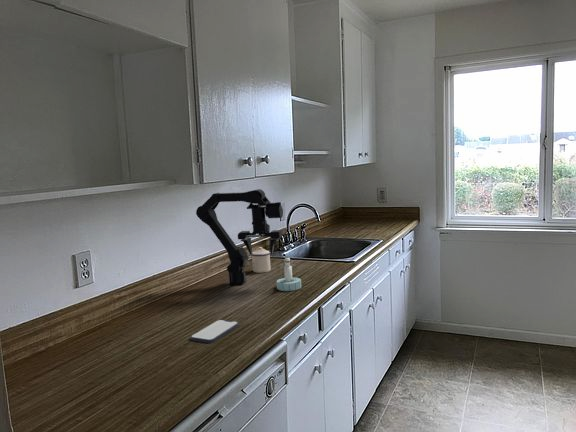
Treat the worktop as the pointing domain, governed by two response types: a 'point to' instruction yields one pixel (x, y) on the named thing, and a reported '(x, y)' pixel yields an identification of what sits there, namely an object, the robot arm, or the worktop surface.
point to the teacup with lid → (260, 260)
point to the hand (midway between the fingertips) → (261, 254)
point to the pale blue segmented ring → (288, 284)
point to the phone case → (214, 331)
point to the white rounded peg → (288, 270)
